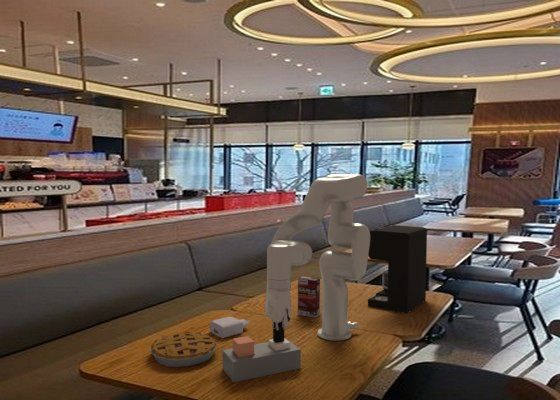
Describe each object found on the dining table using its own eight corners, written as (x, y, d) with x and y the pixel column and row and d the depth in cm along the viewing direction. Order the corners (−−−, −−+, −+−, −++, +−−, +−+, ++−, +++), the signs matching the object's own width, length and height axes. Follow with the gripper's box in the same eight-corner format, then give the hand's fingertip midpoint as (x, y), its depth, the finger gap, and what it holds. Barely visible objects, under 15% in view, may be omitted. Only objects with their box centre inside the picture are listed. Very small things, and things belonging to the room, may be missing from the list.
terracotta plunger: (248, 355, 142) (248, 336, 142) (254, 361, 138) (254, 341, 138) (232, 357, 140) (232, 338, 140) (238, 364, 136) (238, 344, 135)
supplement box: (297, 315, 194) (297, 278, 193) (301, 312, 199) (301, 276, 198) (316, 317, 191) (317, 280, 190) (320, 314, 195) (320, 277, 194)
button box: (286, 356, 151) (286, 338, 151) (300, 368, 142) (300, 349, 142) (222, 368, 142) (222, 350, 141) (233, 382, 133) (233, 362, 132)
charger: (255, 330, 177) (222, 339, 167) (242, 324, 184) (209, 332, 174) (255, 318, 176) (222, 326, 167) (242, 312, 184) (209, 320, 174)
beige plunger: (282, 355, 148) (282, 337, 147) (289, 361, 143) (289, 342, 143) (268, 358, 146) (268, 339, 145) (275, 364, 141) (275, 345, 141)
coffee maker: (390, 292, 231) (391, 223, 228) (429, 298, 219) (430, 226, 217) (366, 305, 208) (367, 229, 206) (408, 313, 197) (409, 232, 194)
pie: (155, 374, 138) (155, 358, 138) (146, 348, 158) (145, 334, 158) (225, 362, 147) (225, 347, 147) (208, 339, 167) (208, 326, 167)
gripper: (258, 279, 148) (258, 335, 149) (278, 290, 134) (277, 351, 135) (279, 277, 151) (279, 332, 152) (301, 287, 138) (300, 347, 139)
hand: (278, 341), depth 144 cm, fingers closed
